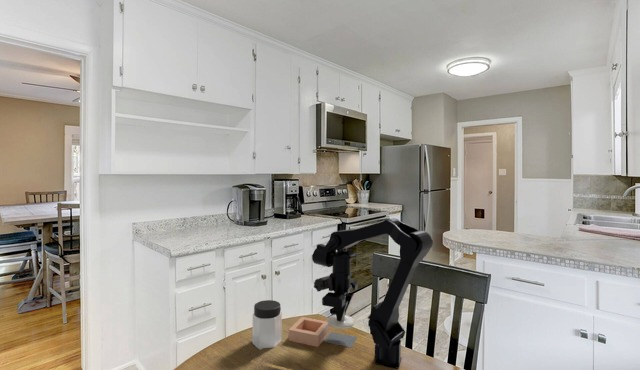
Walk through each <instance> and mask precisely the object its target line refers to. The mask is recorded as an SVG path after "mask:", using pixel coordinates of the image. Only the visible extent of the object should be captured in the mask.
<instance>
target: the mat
mask: <svg viewBox="0 0 640 370" xmlns="http://www.w3.org/2000/svg"><path fill="white" fill-rule="evenodd" d="M357 339H358V336H355V335H350V334H345V333H344V334H343V333H340V332H334V331H330V332H329V333H328V335H327V336H326V337H325V339H324V340H323V342H324V343H327V344H328V343H329V344H332V345H337V346H342V347H347V348H353V346H354V344H355V342H356V341H357Z"/></svg>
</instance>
